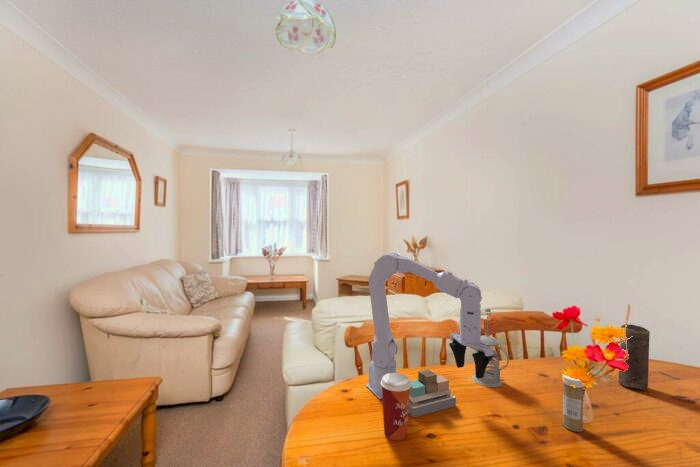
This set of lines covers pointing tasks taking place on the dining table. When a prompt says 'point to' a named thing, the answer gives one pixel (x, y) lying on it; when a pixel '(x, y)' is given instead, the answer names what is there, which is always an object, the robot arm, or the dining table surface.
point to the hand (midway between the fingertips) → (469, 372)
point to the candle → (636, 358)
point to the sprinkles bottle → (572, 404)
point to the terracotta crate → (442, 383)
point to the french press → (491, 363)
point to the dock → (431, 405)
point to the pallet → (427, 396)
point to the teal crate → (417, 388)
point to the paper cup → (395, 405)
